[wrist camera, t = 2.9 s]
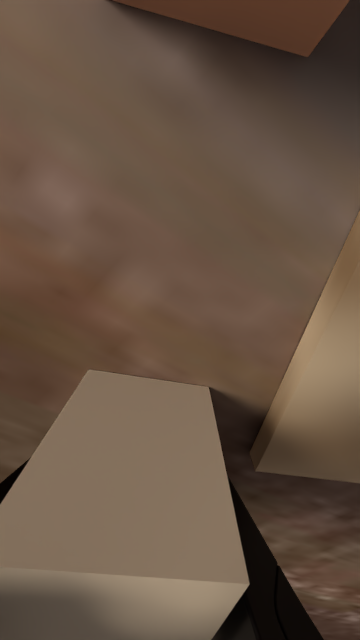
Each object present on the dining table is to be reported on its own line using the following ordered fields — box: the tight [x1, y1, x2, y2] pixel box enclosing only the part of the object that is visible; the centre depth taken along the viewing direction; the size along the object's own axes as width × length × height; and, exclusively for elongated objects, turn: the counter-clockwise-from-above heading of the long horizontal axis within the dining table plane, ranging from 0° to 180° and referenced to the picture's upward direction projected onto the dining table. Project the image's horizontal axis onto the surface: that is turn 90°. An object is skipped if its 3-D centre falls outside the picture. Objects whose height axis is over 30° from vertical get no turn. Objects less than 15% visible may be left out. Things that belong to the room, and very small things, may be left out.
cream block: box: [0, 369, 249, 640], centre depth 7 cm, size 5×5×5 cm
